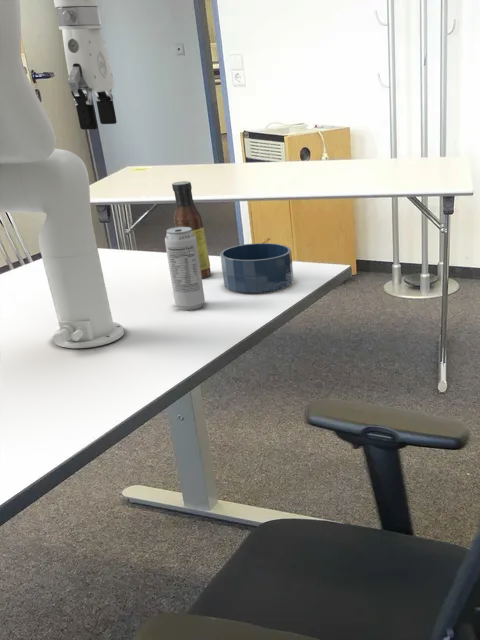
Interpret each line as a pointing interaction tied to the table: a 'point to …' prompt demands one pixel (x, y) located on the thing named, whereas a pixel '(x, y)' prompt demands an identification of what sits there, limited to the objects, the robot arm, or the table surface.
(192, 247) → the energy drink can
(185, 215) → the sauce bottle
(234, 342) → the table surface
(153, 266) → the table surface
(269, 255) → the navy blue bowl
